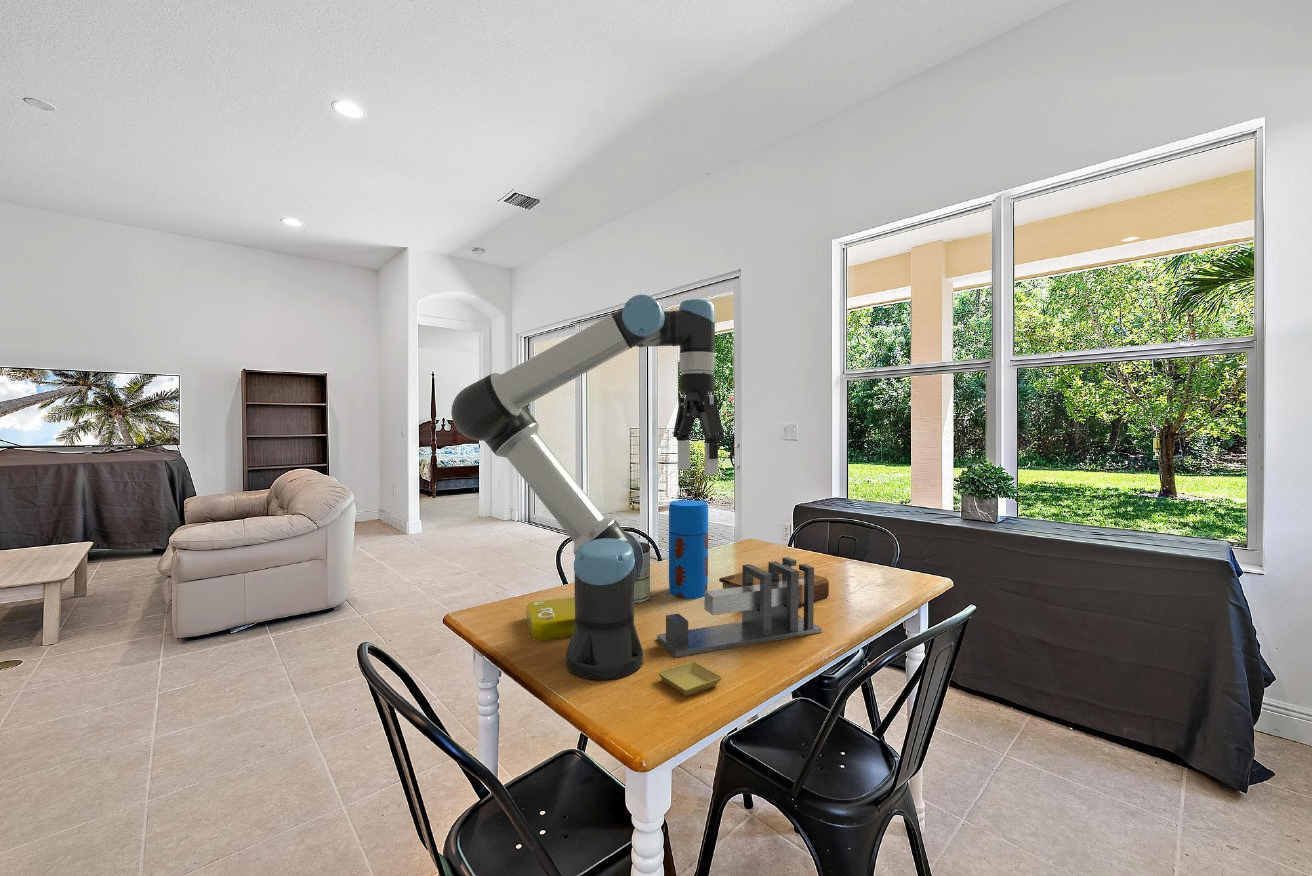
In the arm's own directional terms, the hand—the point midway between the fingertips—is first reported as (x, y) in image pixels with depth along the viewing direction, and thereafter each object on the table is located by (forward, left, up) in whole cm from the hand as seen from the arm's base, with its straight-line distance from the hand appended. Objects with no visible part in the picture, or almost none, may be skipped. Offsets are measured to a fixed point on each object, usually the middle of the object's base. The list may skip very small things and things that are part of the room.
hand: (696, 472), depth 120 cm
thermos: (+12, +30, -37) cm, 49 cm away
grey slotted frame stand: (+10, -2, -37) cm, 38 cm away
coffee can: (-4, +32, -37) cm, 49 cm away
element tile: (-26, +19, -37) cm, 49 cm away
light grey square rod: (+15, -2, -31) cm, 34 cm away
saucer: (-10, -18, -37) cm, 43 cm away
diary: (+32, +18, -37) cm, 52 cm away
